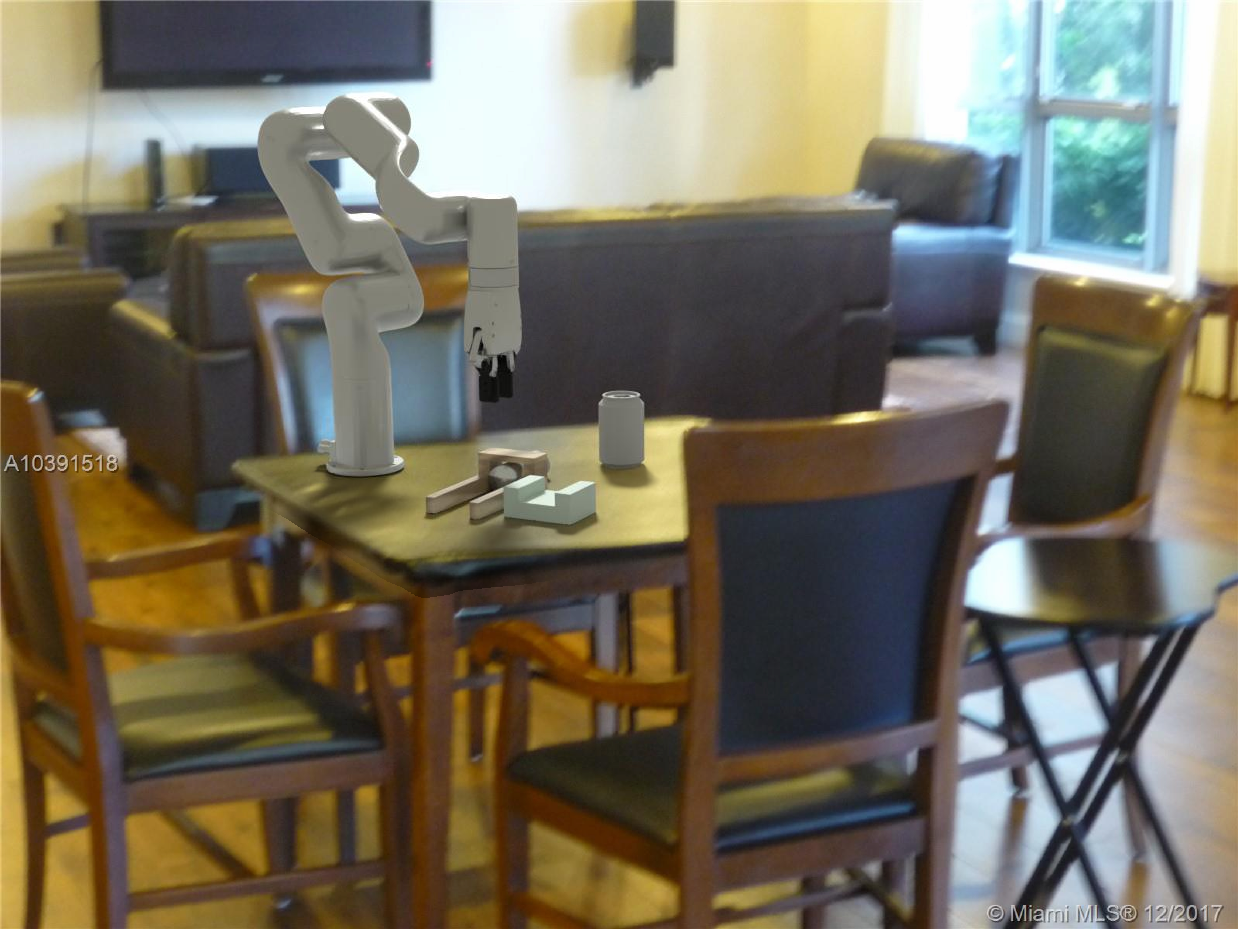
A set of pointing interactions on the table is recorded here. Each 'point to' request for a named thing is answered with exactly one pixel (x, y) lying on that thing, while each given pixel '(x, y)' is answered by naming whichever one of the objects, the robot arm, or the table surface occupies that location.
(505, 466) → the axle
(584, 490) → the v block
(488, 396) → the robot arm
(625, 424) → the can
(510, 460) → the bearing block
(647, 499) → the table surface
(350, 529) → the table surface
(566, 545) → the table surface
